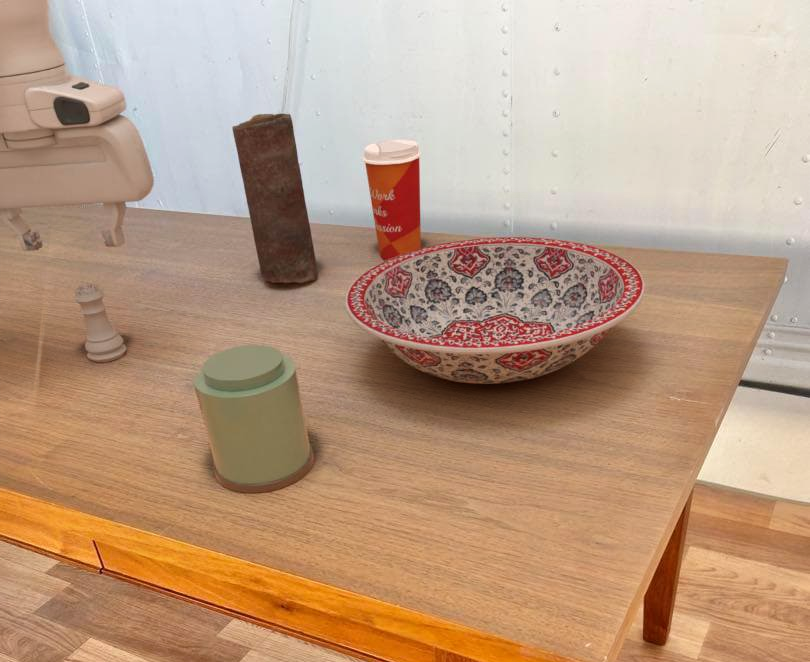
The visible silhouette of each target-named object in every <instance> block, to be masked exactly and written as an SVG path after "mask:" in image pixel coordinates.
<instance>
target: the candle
mask: <svg viewBox="0 0 810 662" xmlns="http://www.w3.org/2000/svg"><path fill="white" fill-rule="evenodd" d="M232 133H233V134H232V135H233V138H234V143H235V148H236V152H237V157H238V163H239V169H240V173H241V178H242V182H243V188H244V194H245V198H246V204H247V209H248V215H249V219H250V224H251V229H252V234H253V238H254V239H253V240H254V246H255V250H256V254H257V255H256V256H257V259H258V260H257V261H258V266H259V270H260V274H261V277H262V278H263V279H264V280H266V281H267V282H270V283H277V284H290V283H297V284H298V283H299V284H302V283H307V282H308V283H309V282H314V281H316V280H318V277H319V272H318V266H317V259H316V253H315V248H314V242H313V236H312V231H311V224H310V220H309V213H308V209H307V204H306V197H305V191H304V190H305V189H304V185H303V178H302V173H301V166H300V162H299V157H298V156H299V155H298V149H297V142H296V136H295V130H294V123H293V118H292V116H291V114H290V113H276V114H274V113H259V114H255V115H252V117H251V118H250V119H249V120H246V121H243V122H241V123H239V124H237V125H233V126H232Z"/></svg>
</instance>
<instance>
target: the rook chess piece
mask: <svg viewBox="0 0 810 662" xmlns="http://www.w3.org/2000/svg"><path fill="white" fill-rule="evenodd" d="M74 292H75V295H74V297H73V300H74V301H75V302H76V303H77V304H79V306H80V308H81V309H80V311H79V312H80V314H81V315H82V316H83V318H84V321H85V326H86V327H85V328H86V337H85V339H86V342H85V343H84V348H85V350H86V351H87V354H86V356H87V358H88V359H89V360H91V361H92V362H95V363H108V362H109V363H110V362H112V361H116V360H117V359H120V358H121V357H123V356H124V355H125V353H126V350H127V346H126V344H123V343H124V339H123V337H122V335H121V334H119V333H118V331H117V330H116V329H115V328H114V327H113V325H112V323H111V322H110V321H111V320H110V319H109V317H108V315H107V310H106V308H107V306H106V305H105V304H104V302H103V298H104V297H105V292H104V291H103V290H102V289H100V287H99V285H98V283H93V284H92V283H91V282H90V283H86V288H85V286H84V284H81V285H78V287H75V288H74Z"/></svg>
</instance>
